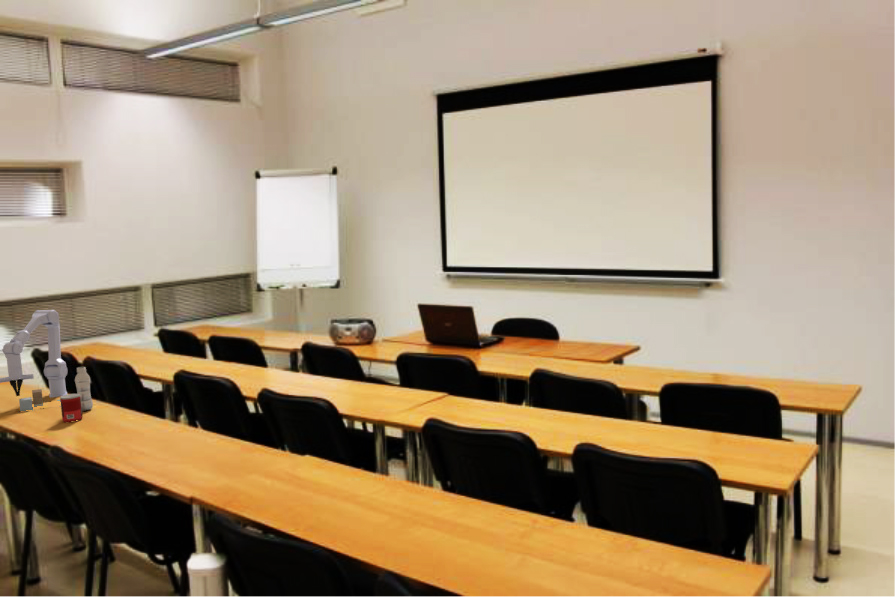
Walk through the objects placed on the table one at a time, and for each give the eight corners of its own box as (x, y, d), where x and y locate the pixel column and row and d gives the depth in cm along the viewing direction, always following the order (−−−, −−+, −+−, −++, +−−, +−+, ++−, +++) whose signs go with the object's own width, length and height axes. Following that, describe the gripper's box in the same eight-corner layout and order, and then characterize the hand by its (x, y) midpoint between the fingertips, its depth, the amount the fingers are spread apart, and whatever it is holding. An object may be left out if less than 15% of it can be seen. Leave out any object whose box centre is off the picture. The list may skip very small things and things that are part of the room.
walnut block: (33, 404, 366) (32, 390, 365) (43, 403, 368) (41, 388, 367) (33, 407, 361) (32, 392, 360) (43, 405, 363) (41, 391, 362)
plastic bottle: (74, 412, 348) (69, 369, 346) (85, 408, 355) (80, 366, 352) (85, 412, 346) (81, 369, 344) (96, 408, 353) (92, 366, 350)
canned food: (86, 418, 335) (83, 394, 334) (69, 423, 328) (66, 398, 327) (76, 417, 339) (73, 392, 338) (59, 421, 332) (56, 397, 331)
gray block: (20, 409, 358) (19, 398, 357) (32, 407, 360) (31, 397, 359) (20, 411, 353) (19, 400, 353) (32, 409, 356) (31, 399, 355)
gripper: (-4, 371, 351) (0, 399, 353) (32, 366, 358) (35, 394, 360) (-3, 368, 358) (0, 396, 359) (32, 364, 364) (35, 392, 366)
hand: (18, 395), depth 360 cm, fingers closed
